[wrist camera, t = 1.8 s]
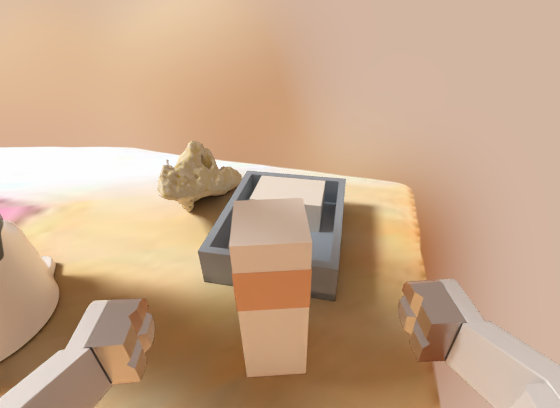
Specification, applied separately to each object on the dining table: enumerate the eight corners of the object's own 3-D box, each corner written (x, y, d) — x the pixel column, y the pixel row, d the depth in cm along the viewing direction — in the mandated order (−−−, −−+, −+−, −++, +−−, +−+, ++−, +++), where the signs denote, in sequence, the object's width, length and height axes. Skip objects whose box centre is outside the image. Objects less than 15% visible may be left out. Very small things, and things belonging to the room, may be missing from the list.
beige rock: (218, 180, 65) (146, 148, 56) (241, 158, 62) (167, 119, 52) (223, 245, 56) (137, 219, 47) (250, 223, 52) (162, 190, 43)
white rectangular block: (251, 224, 48) (249, 199, 45) (263, 199, 54) (261, 175, 51) (319, 232, 46) (320, 206, 44) (323, 205, 52) (325, 180, 49)
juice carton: (246, 377, 30) (228, 247, 21) (247, 325, 35) (233, 200, 26) (306, 373, 30) (313, 242, 21) (299, 322, 35) (303, 197, 26)
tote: (204, 281, 40) (197, 251, 37) (249, 196, 56) (247, 170, 54) (334, 301, 37) (338, 269, 34) (342, 205, 53) (345, 178, 51)
